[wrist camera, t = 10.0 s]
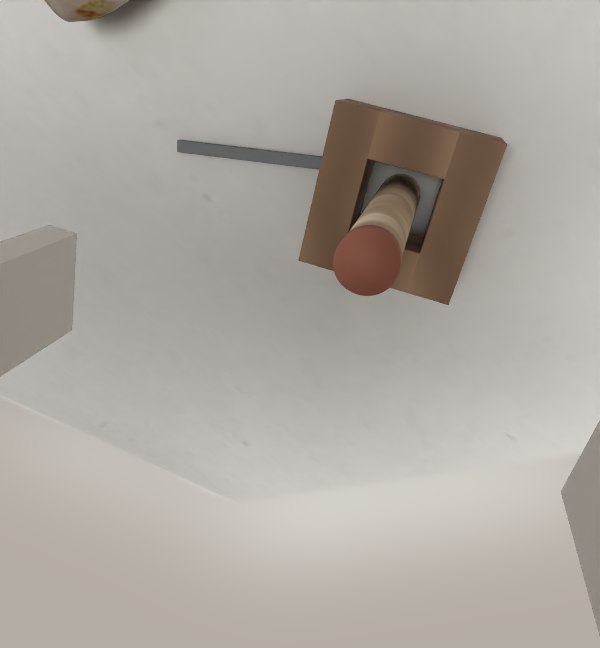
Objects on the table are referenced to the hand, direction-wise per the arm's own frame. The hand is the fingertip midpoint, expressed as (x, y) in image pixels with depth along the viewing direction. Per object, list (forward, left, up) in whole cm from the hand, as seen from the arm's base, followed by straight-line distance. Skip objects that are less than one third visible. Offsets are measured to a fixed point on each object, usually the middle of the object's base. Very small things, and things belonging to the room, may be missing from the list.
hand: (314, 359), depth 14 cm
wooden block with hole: (0, 0, -23) cm, 23 cm away
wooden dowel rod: (0, 0, -23) cm, 23 cm away
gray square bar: (-9, 0, -23) cm, 25 cm away
